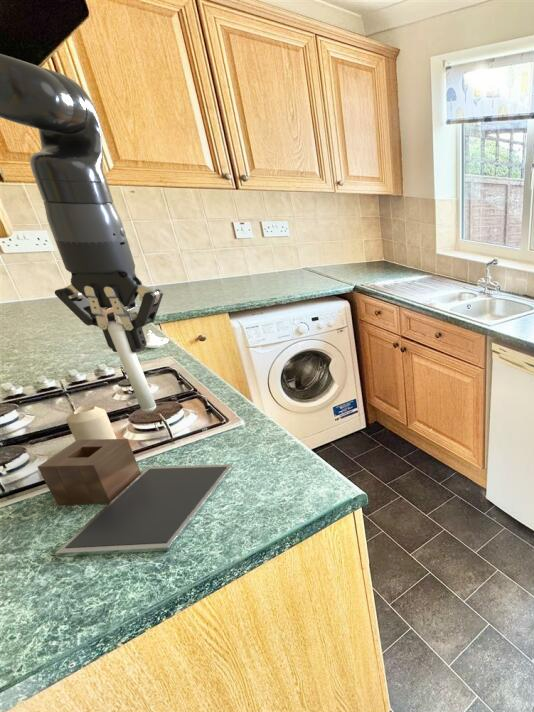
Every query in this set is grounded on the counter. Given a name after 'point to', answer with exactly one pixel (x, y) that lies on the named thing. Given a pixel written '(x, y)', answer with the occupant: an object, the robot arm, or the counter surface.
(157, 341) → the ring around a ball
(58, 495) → the stand
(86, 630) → the counter surface
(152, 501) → the tablet
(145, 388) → the white rod
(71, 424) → the candle
